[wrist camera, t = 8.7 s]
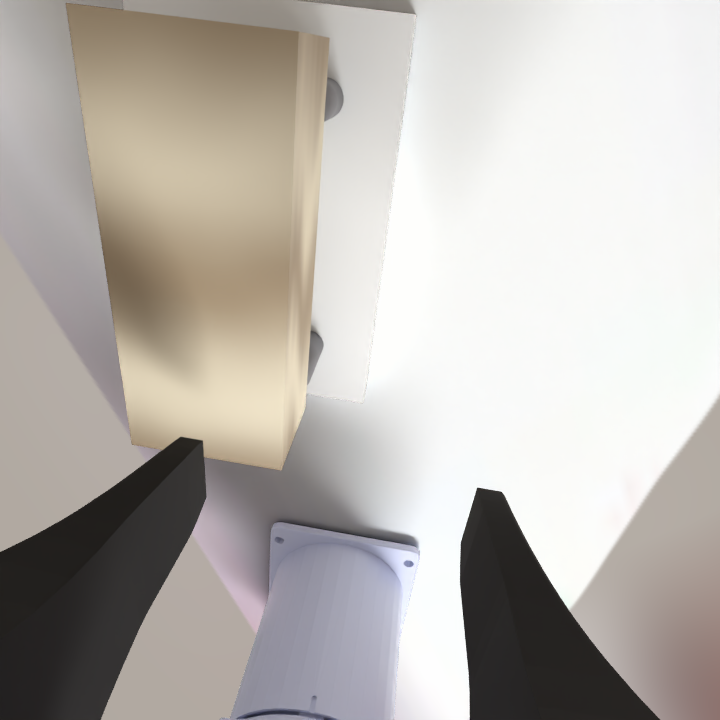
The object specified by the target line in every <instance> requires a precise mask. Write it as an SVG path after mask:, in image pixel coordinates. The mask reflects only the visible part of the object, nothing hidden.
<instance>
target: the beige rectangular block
mask: <svg viewBox="0 0 720 720" xmlns="http://www.w3.org/2000/svg"><path fill="white" fill-rule="evenodd" d="M66 9H67V15H68V22H69V29H70V35H71V42H72V49H73V55H74V62H75V69H76V75H77V82H78V89H79V95H80V102H81V109H82V115H83V122H84V129H85V135H86V142H87V149H88V155H89V162H90V169H91V175H92V182H93V189H94V195H95V202H96V209H97V215H98V222H99V229H100V235H101V242H102V249H103V255H104V262H105V269H106V276H107V282H108V289H109V296H110V302H111V309H112V316H113V322H114V329H115V336H116V342H117V349H118V356H119V362H120V369H121V376H122V382H123V389H124V396H125V402H126V409H127V416H128V422H129V429H130V436H131V442H132V445H137V446H143V447H148V448H154V449H160V450H163V449H165V448H166V447H167V446H168V445H170V444H171V443H172V442H174V441H175V440H177V439H178V438H179V437H186V438H192V439H197V440H203V449H204V457H206V458H212V459H217V460H223V461H229V462H235V463H240V464H246V465H252V466H258V467H263V468H269V469H275V470H282V468H283V465H284V462H285V460H286V457H287V455H288V452H289V449H290V447H291V444H292V442H293V439H294V436H295V434H296V431H297V429H298V426H299V423H300V421H301V418H302V416H303V413H304V410H305V407H306V391H307V376H308V361H309V346H310V330H311V315H312V300H313V285H314V269H315V254H316V239H317V224H318V208H319V193H320V178H321V163H322V147H323V132H324V117H325V102H326V86H327V71H328V56H329V41H330V38H328V37H323V36H318V35H314V34H309V33H304V32H299V31H291V30H283V29H275V28H267V27H258V26H250V25H242V24H234V23H226V22H218V21H210V20H201V19H193V18H185V17H177V16H169V15H161V14H153V13H144V12H136V11H128V10H120V9H112V8H104V7H96V6H87V5H79V4H71V3H66Z"/></svg>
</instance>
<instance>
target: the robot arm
mask: <svg viewBox="0 0 720 720" xmlns="http://www.w3.org/2000/svg"><path fill="white" fill-rule="evenodd" d="M205 499H206V483H205V466H204V449H203V440H197V439H192V438H186V437H179V438H178V439H177V440H175V441H174V442H172V443H171V444H170V445H168V446H167V447H166V448H165V449H163V450H162V451H161V452H159V453H158V454H157V455H155V456H154V457H153V458H151V459H150V460H149V461H147V462H146V463H145V464H144V465H142V466H141V467H140V468H138V469H137V470H136V471H134V472H133V473H132V474H130V475H129V476H127V477H126V478H125V479H123V480H122V481H120V482H119V483H118V484H116V485H115V486H114V487H112V488H111V489H109V490H108V491H106V492H105V493H103V494H102V495H100V496H99V497H97V498H96V499H94V500H93V501H91V502H90V503H88V504H87V505H85V506H84V507H82V508H81V509H79V510H78V511H76V512H74V513H73V514H71V515H69V516H68V517H66V518H64V519H63V520H61V521H59V522H58V523H56V524H54V525H52V526H51V527H49V528H47V529H45V530H43V531H41V532H40V533H38V534H36V535H34V536H32V537H30V538H28V539H26V540H24V541H22V542H20V543H18V544H16V545H14V546H12V547H10V548H8V549H6V550H4V551H2V552H0V720H101V717H102V715H103V712H104V710H105V707H106V705H107V702H108V700H109V697H110V695H111V693H112V690H113V688H114V686H115V683H116V681H117V678H118V676H119V674H120V671H121V669H122V667H123V664H124V662H125V660H126V658H127V655H128V653H129V651H130V648H131V646H132V644H133V642H134V639H135V637H136V635H137V633H138V630H139V628H140V626H141V624H142V622H143V620H144V618H145V616H146V614H147V612H148V610H149V609H150V607H151V605H152V603H153V601H154V600H155V598H156V596H157V594H158V593H159V590H160V589H161V587H162V585H163V584H164V582H165V580H166V578H167V577H168V575H169V573H170V571H171V569H172V568H173V566H174V564H175V562H176V560H177V559H178V557H179V555H180V553H181V552H182V550H183V548H184V546H185V544H186V543H187V541H188V539H189V537H190V535H191V533H192V531H193V529H194V527H195V524H196V522H197V519H198V517H199V515H200V512H201V509H202V507H203V504H204V502H205ZM280 537H281V538H280ZM419 559H420V551H419V549H418V548H416V547H414V546H411V545H405V544H400V543H394V542H389V541H383V540H378V539H372V538H366V537H361V536H355V535H350V534H344V533H339V532H333V531H328V530H322V529H316V528H311V527H305V526H300V525H294V524H289V523H283V522H277V523H274V524H273V526H272V529H271V536H270V572H269V597H268V600H267V603H266V606H265V610H264V613H263V616H262V619H261V622H260V625H259V628H258V632H257V635H256V638H255V641H254V644H253V647H252V651H251V654H250V657H249V660H248V663H247V666H246V669H245V673H244V676H243V679H242V682H241V685H240V688H239V691H238V694H237V698H236V701H235V704H234V707H233V710H232V713H231V717H230V719H229V718H221V719H220V720H394V714H395V699H396V685H397V670H398V655H399V641H400V636H401V632H402V628H403V624H404V620H405V616H406V611H407V607H408V603H409V599H410V595H411V591H412V587H413V583H414V579H415V575H416V571H417V567H418V563H419ZM407 560H409V561H407ZM460 586H461V597H462V608H463V619H464V629H465V639H466V650H467V660H468V670H469V688H470V720H660V719H659V718H658V717H657V716H656V715H655V714H654V713H653V712H652V711H651V710H650V709H649V708H648V706H646V705H645V703H644V702H643V701H642V700H641V699H640V698H639V697H638V696H637V695H636V694H635V693H634V691H633V690H632V689H631V688H630V687H629V686H628V684H627V683H626V682H625V681H624V680H623V679H622V678H621V676H620V675H619V674H618V673H617V672H616V671H615V670H614V668H613V667H612V666H611V665H610V664H609V663H608V661H607V660H606V659H605V658H604V657H603V655H602V654H601V653H600V651H599V650H598V649H597V648H596V646H595V645H594V644H593V643H592V641H591V640H590V639H589V637H588V636H587V635H586V633H585V632H584V631H583V629H582V628H581V627H580V625H579V624H578V623H577V621H576V620H575V618H574V617H573V615H572V614H571V613H570V611H569V610H568V608H567V607H566V605H565V604H564V602H563V601H562V599H561V598H560V596H559V595H558V593H557V592H556V590H555V588H554V587H553V585H552V584H551V582H550V580H549V579H548V577H547V576H546V574H545V572H544V571H543V569H542V567H541V565H540V564H539V562H538V560H537V558H536V557H535V555H534V553H533V551H532V550H531V548H530V546H529V544H528V542H527V540H526V539H525V537H524V535H523V533H522V531H521V529H520V527H519V525H518V523H517V521H516V519H515V517H514V515H513V513H512V511H511V509H510V507H509V504H508V502H507V500H506V498H505V496H504V495H503V493H502V492H499V491H494V490H488V489H482V488H477V491H476V494H475V497H474V501H473V504H472V507H471V511H470V514H469V517H468V521H467V524H466V527H465V531H464V534H463V537H462V541H461V557H460Z"/></svg>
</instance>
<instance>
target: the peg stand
mask: <svg viewBox="0 0 720 720" xmlns="http://www.w3.org/2000/svg"><path fill="white" fill-rule="evenodd" d="M122 2H123V10H128V11H136V12H144V13H153V14H161V15H169V16H177V17H185V18H193V19H201V20H210V21H218V22H226V23H234V24H242V25H250V26H258V27H267V28H275V29H283V30H291V31H299V32H304V33H309V34H314V35H318V36H323V37H328V38H330V41H329V56H328V71H327V86H326V102H325V117H324V132H323V147H322V163H321V178H320V193H319V208H318V224H317V239H316V254H315V269H314V285H313V300H312V315H311V330H310V346H309V361H308V376H307V391H306V394H308V395H314V396H320V397H326V398H332V399H338V400H344V401H351V402H357V403H363V401H364V397H365V392H366V386H367V379H368V371H369V364H370V356H371V349H372V342H373V334H374V327H375V320H376V312H377V305H378V297H379V290H380V283H381V275H382V268H383V261H384V253H385V246H386V238H387V231H388V224H389V216H390V209H391V201H392V194H393V187H394V179H395V172H396V165H397V157H398V150H399V142H400V135H401V128H402V120H403V113H404V105H405V98H406V91H407V83H408V76H409V69H410V61H411V54H412V46H413V39H414V32H415V24H416V15H415V14H409V13H400V12H392V11H383V10H375V9H367V8H358V7H350V6H341V5H333V4H325V3H316V2H308V1H299V0H122Z"/></svg>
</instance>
